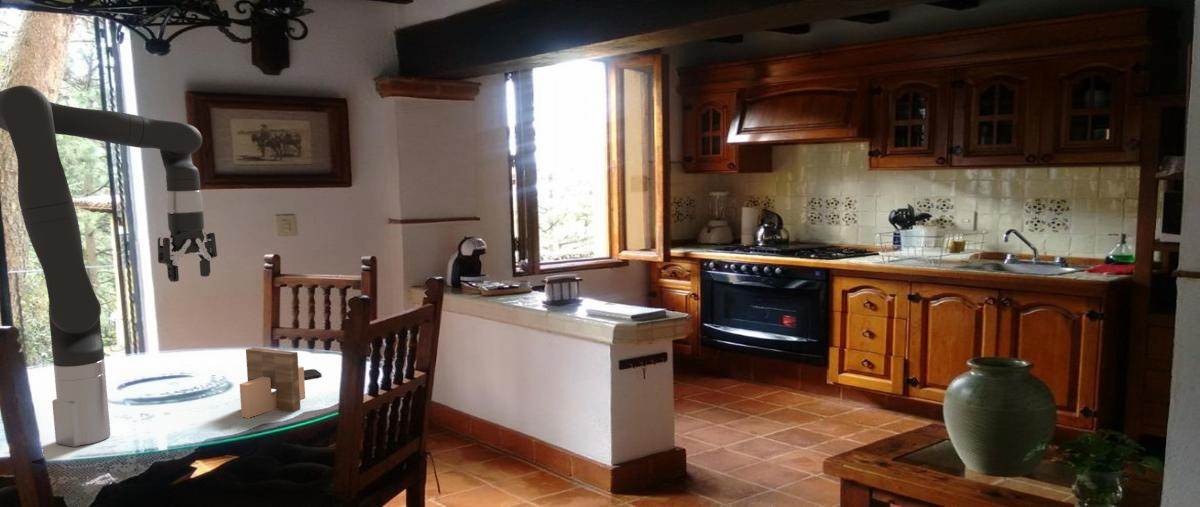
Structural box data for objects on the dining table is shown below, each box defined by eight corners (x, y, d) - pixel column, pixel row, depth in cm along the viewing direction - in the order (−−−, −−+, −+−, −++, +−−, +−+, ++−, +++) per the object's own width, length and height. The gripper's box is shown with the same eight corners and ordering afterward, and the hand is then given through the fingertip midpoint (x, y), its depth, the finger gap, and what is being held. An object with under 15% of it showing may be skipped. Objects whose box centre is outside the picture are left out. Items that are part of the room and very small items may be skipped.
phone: (322, 374, 228) (265, 383, 219) (322, 378, 228) (265, 387, 219) (314, 368, 234) (258, 376, 226) (314, 372, 234) (258, 380, 226)
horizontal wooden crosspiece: (249, 418, 192) (247, 385, 191) (241, 417, 193) (239, 384, 192) (305, 397, 208) (303, 366, 207) (297, 396, 209) (296, 365, 208)
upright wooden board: (293, 411, 197) (290, 354, 195) (249, 405, 202) (245, 349, 200) (300, 409, 199) (297, 352, 197) (256, 402, 204) (253, 347, 203)
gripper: (199, 208, 201) (203, 274, 202) (146, 211, 188) (151, 282, 189) (221, 208, 198) (226, 275, 199) (170, 212, 185) (175, 284, 186)
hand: (189, 278), depth 194 cm, fingers open, 8 cm apart
